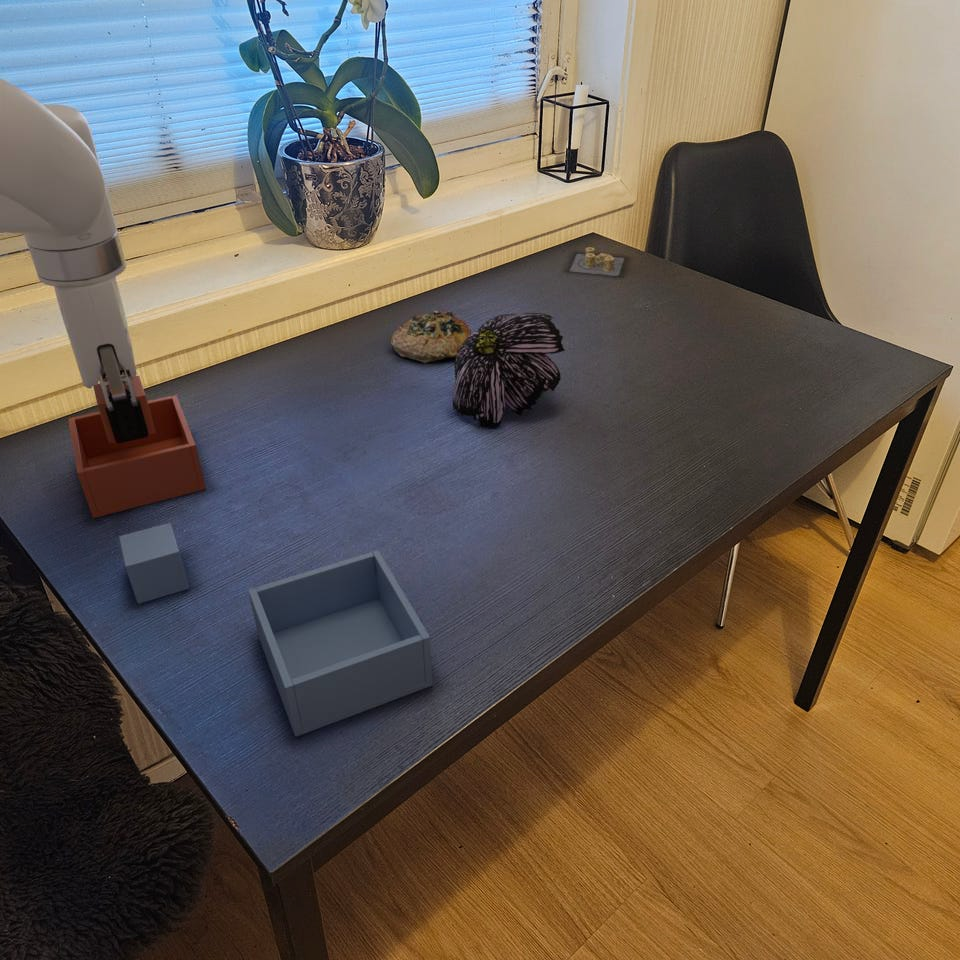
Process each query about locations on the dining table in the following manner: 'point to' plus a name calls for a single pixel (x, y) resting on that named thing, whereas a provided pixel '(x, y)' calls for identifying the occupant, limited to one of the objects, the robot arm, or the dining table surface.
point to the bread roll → (430, 337)
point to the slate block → (153, 563)
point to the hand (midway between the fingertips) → (128, 424)
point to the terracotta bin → (136, 461)
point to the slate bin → (340, 640)
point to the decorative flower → (506, 366)
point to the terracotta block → (139, 396)
